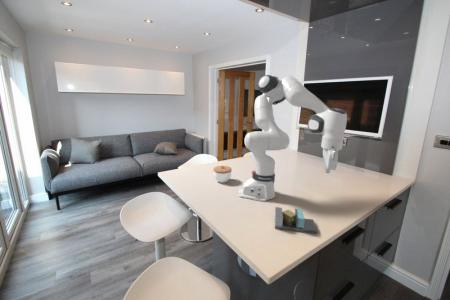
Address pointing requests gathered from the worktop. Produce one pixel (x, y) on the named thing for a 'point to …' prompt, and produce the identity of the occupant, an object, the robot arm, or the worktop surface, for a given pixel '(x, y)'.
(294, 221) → the tan short block
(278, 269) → the worktop surface
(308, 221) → the press bed
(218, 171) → the lidded bowl
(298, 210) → the block
